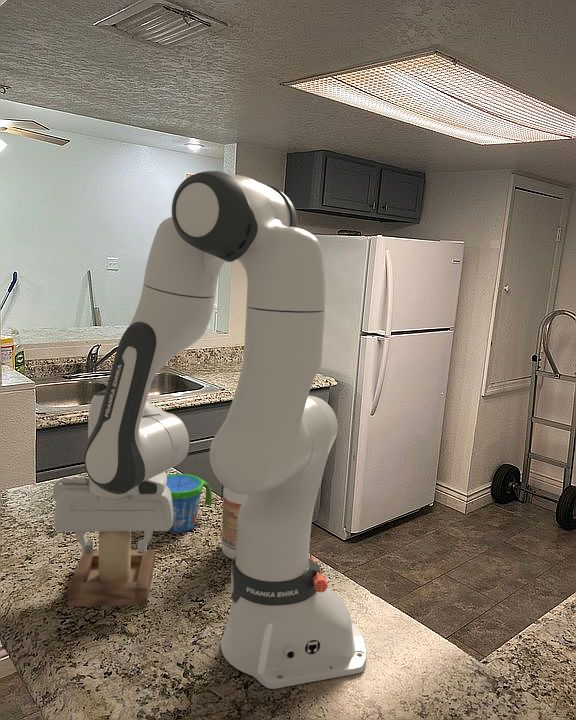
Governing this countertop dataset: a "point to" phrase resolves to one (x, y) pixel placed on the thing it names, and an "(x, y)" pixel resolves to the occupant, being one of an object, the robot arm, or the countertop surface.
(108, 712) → the countertop surface
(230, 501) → the fruit juice
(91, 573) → the brown shallow square tray
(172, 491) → the snack cup
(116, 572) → the candle
